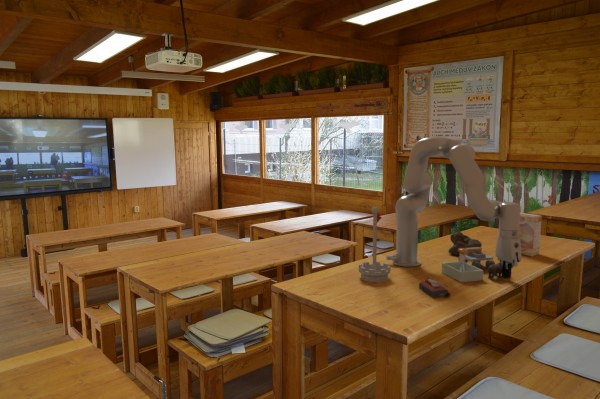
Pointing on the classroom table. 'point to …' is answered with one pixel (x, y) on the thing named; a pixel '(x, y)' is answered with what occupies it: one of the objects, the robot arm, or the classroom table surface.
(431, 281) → the walkie-talkie
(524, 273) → the classroom table surface
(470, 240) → the decorative stone
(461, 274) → the tray
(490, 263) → the trolley
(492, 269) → the rhino figurine
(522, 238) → the coffeecake box
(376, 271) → the flag stand
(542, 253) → the classroom table surface
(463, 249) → the pin
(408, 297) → the classroom table surface
